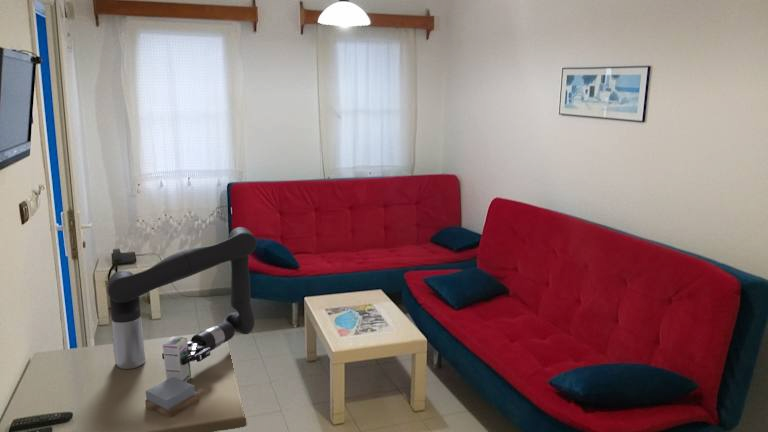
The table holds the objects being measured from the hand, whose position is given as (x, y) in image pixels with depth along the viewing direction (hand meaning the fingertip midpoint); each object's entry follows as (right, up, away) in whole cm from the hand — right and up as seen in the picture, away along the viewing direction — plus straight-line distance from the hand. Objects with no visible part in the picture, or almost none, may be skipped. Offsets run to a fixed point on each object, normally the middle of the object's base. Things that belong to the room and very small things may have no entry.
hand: (172, 359), depth 192 cm
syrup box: (+1, -8, +4) cm, 9 cm away
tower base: (+4, -12, -10) cm, 16 cm away
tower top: (+4, -9, -11) cm, 14 cm away
